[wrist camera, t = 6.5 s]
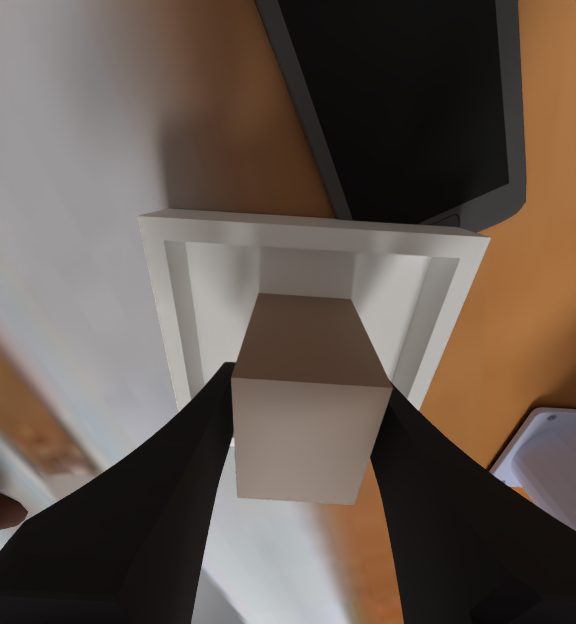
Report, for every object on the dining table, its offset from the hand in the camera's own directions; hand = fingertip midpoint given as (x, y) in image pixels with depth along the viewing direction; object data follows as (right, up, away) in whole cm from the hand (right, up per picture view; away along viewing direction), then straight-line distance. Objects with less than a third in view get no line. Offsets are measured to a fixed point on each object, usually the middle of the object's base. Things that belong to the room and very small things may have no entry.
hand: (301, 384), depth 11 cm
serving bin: (0, +2, +3) cm, 4 cm away
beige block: (0, +1, +3) cm, 3 cm away
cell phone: (+3, +12, -2) cm, 12 cm away
